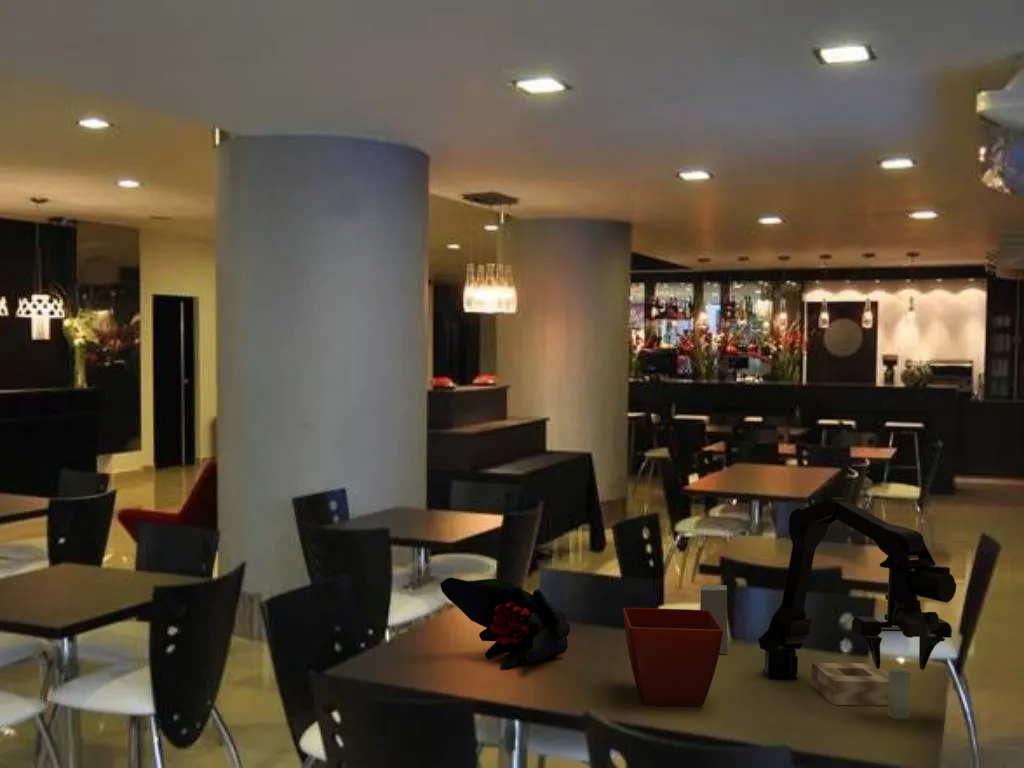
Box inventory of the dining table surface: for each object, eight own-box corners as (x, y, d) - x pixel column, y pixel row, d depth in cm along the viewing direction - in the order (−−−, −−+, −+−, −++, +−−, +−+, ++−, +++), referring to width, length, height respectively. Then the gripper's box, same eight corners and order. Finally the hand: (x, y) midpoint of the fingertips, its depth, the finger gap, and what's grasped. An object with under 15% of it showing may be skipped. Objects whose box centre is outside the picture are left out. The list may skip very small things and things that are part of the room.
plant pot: (620, 682, 241) (622, 606, 241) (707, 685, 241) (710, 609, 240) (626, 709, 222) (629, 626, 222) (721, 713, 222) (724, 630, 221)
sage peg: (892, 719, 221) (894, 674, 221) (884, 712, 225) (886, 669, 225) (912, 719, 221) (913, 675, 221) (904, 713, 225) (905, 669, 225)
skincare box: (727, 655, 267) (729, 590, 266) (697, 653, 268) (699, 588, 268) (727, 647, 275) (729, 584, 275) (698, 644, 276) (701, 582, 276)
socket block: (833, 704, 229) (834, 680, 229) (811, 685, 243) (812, 662, 243) (898, 705, 230) (899, 681, 230) (872, 685, 244) (873, 663, 244)
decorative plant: (562, 700, 258) (478, 691, 236) (497, 636, 275) (413, 622, 254) (606, 626, 255) (525, 610, 234) (538, 566, 273) (457, 546, 251)
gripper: (873, 600, 214) (870, 679, 214) (966, 602, 215) (963, 681, 216) (852, 588, 225) (849, 664, 226) (940, 590, 226) (937, 665, 227)
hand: (899, 668), depth 223 cm, fingers open, 9 cm apart
